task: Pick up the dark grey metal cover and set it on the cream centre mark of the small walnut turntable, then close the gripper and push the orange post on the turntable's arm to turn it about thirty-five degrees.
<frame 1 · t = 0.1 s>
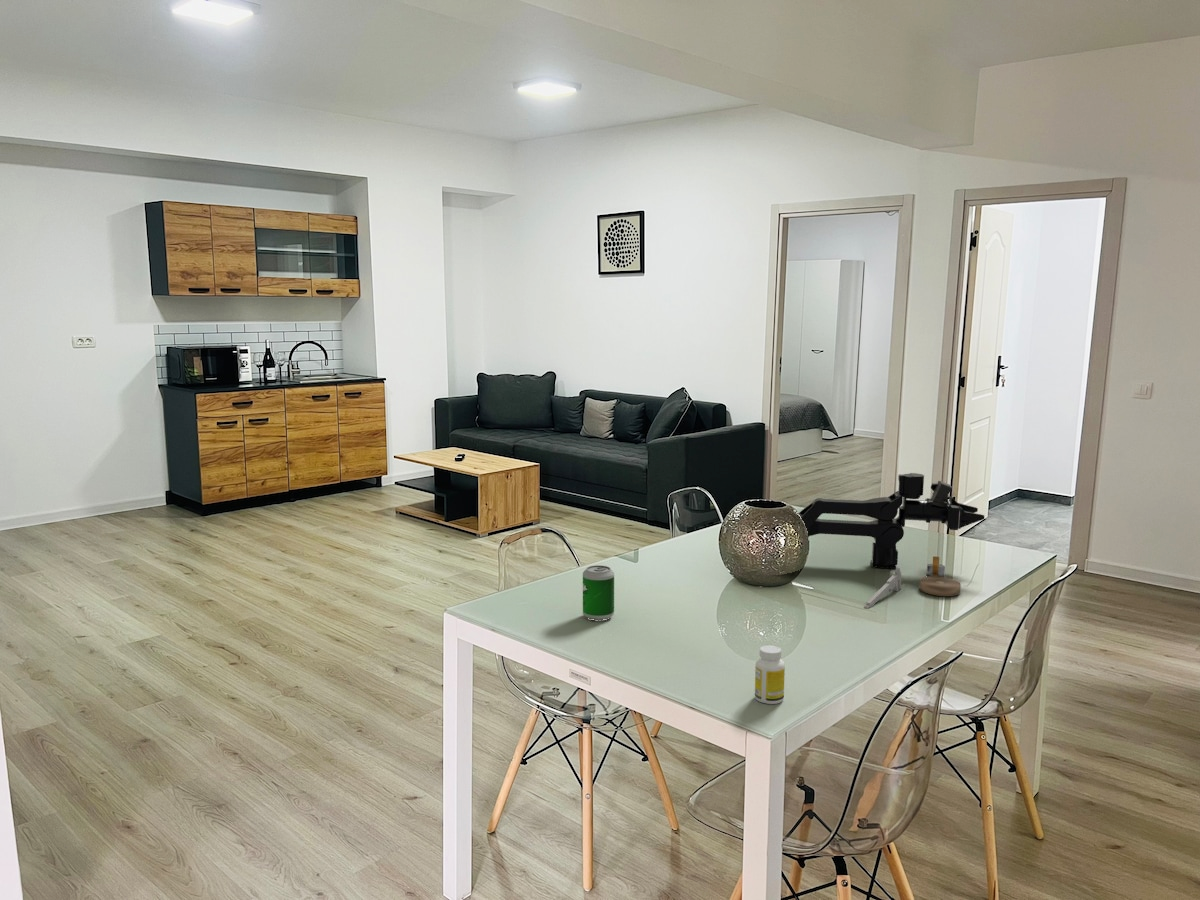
hand: (980, 513, 249), 17 cm above the table, tool horizontal, fingers open, 9 cm apart
soda can: (598, 618, 213), on the table
supplement bottle: (769, 699, 168), on the table
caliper: (882, 600, 228), on the table
turntable: (939, 575, 235), point 4 cm above the table, hinge at 0.0°
cover: (935, 577, 246), on the table
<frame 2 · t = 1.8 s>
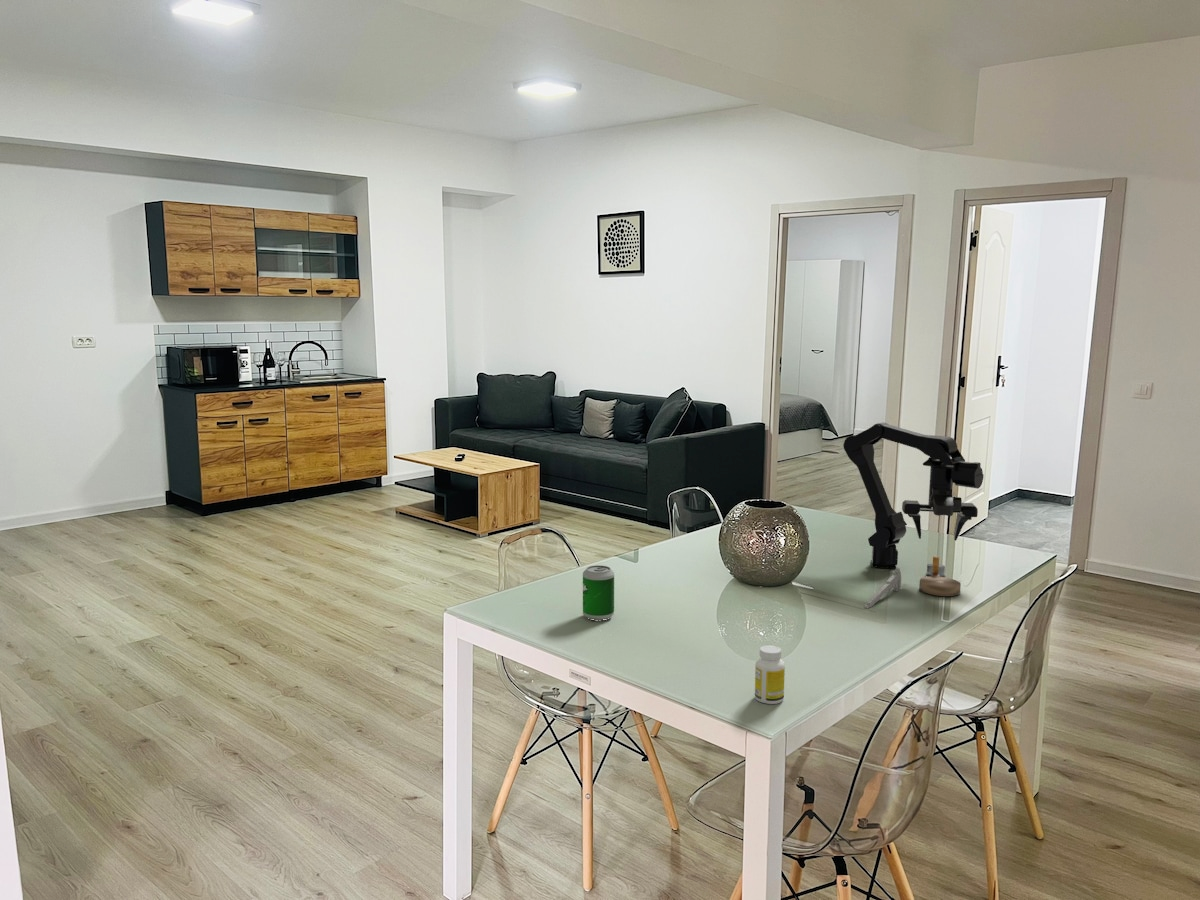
hand: (937, 539, 245), 11 cm above the table, tool pointing down, fingers open, 9 cm apart
nothing on the table moved.
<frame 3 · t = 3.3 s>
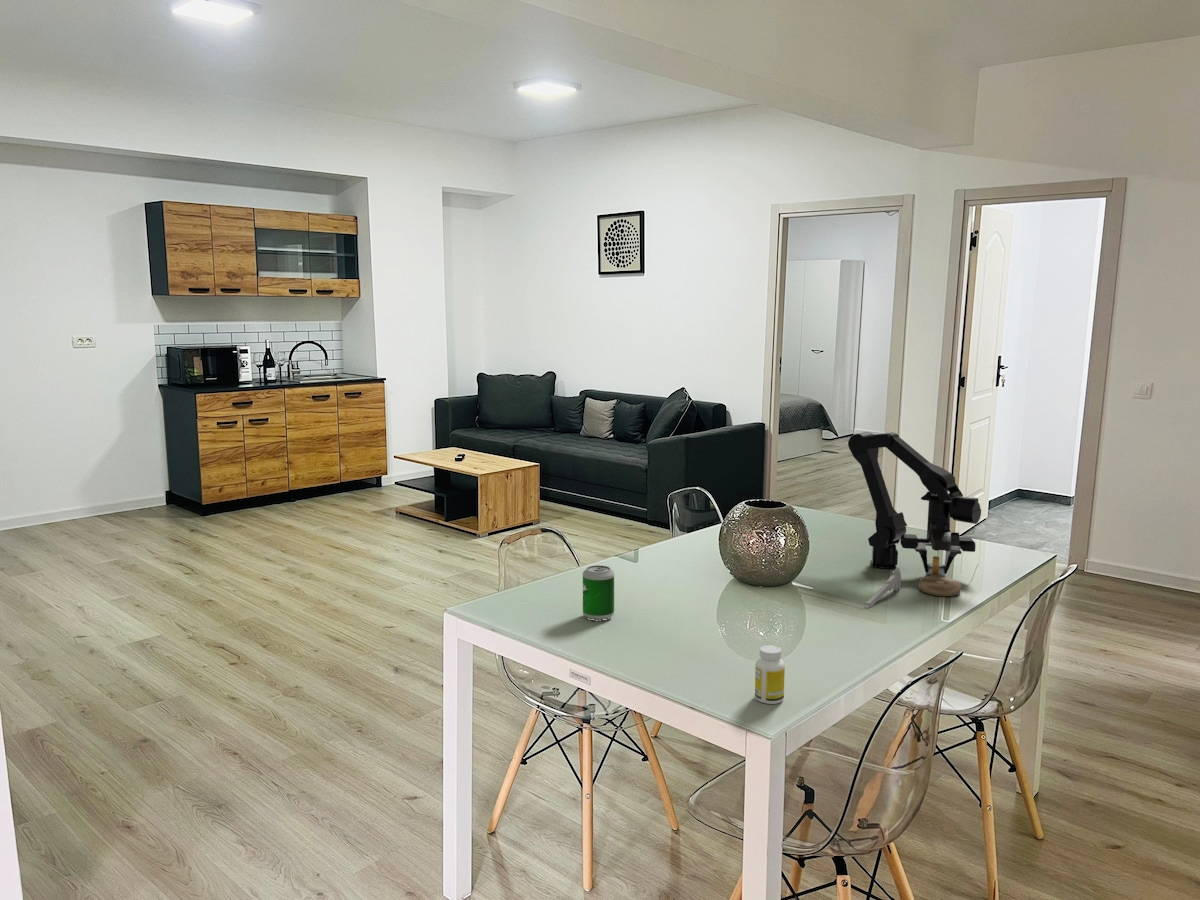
hand: (935, 573, 246), 1 cm above the table, tool pointing down, fingers closed on cover, 5 cm apart
cover: (935, 576, 246), on the table, touching gripper
everything else where it was.
when the fingers open (5 cm above the table, at t = 7.0 s): cover drops 1 cm, resting on turntable.
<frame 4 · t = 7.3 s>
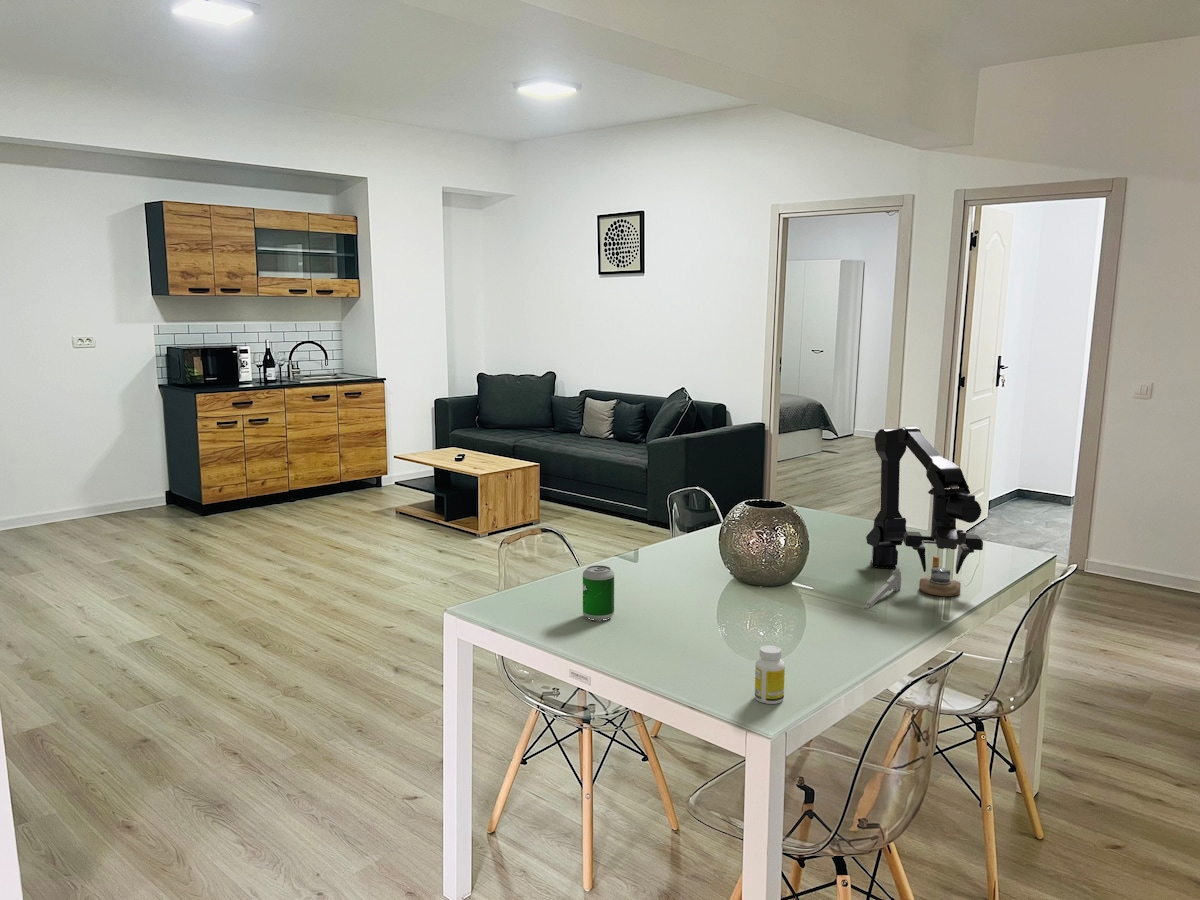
hand: (940, 572, 233), 5 cm above the table, tool pointing down, fingers open, 8 cm apart
turntable: (939, 575, 235), point 4 cm above the table, hinge at 0.0°, touching cover
cover: (940, 581, 233), point 3 cm above the table, touching turntable
everything else where it was.
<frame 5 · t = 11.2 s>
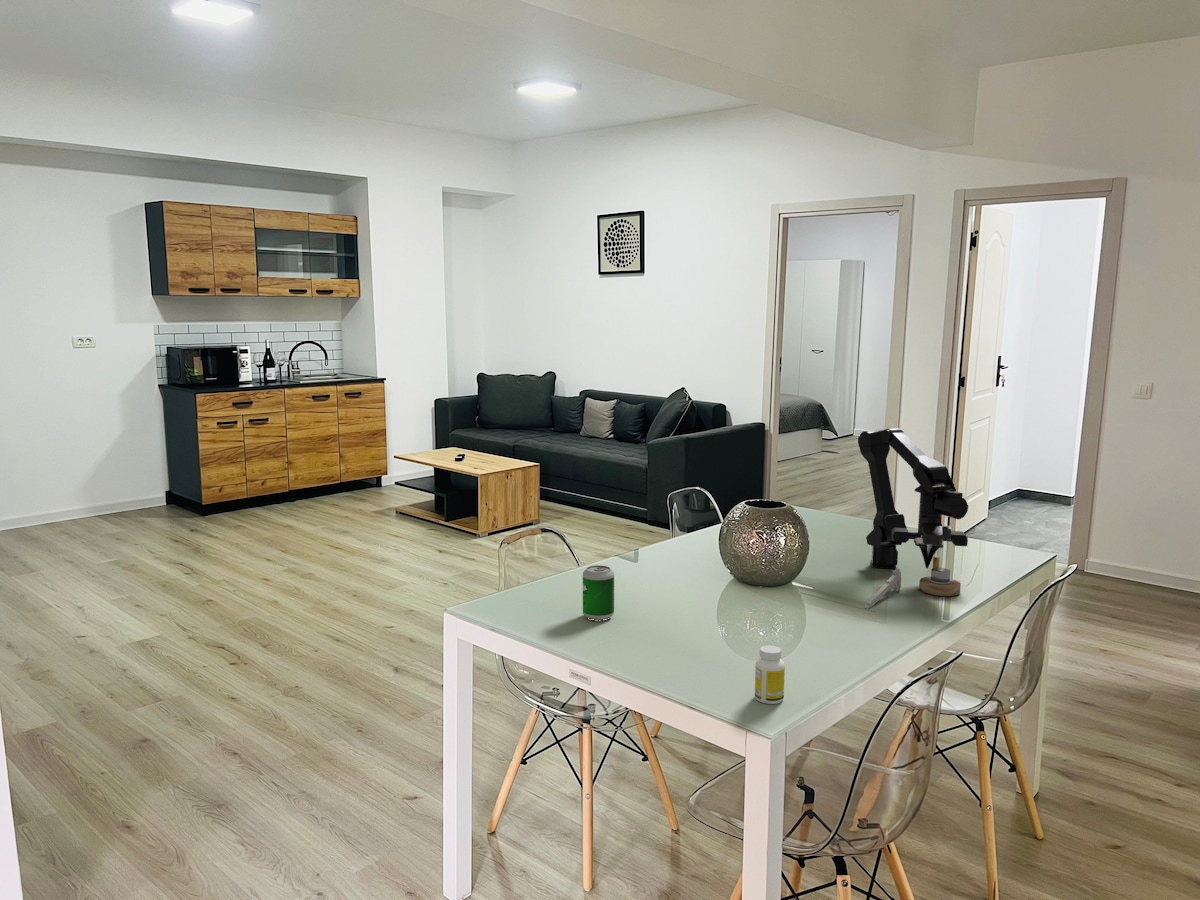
hand: (926, 567, 240), 4 cm above the table, tool pointing down, fingers closed
turntable: (939, 575, 235), point 4 cm above the table, hinge at -0.5°, touching cover, gripper
everything else where it was.
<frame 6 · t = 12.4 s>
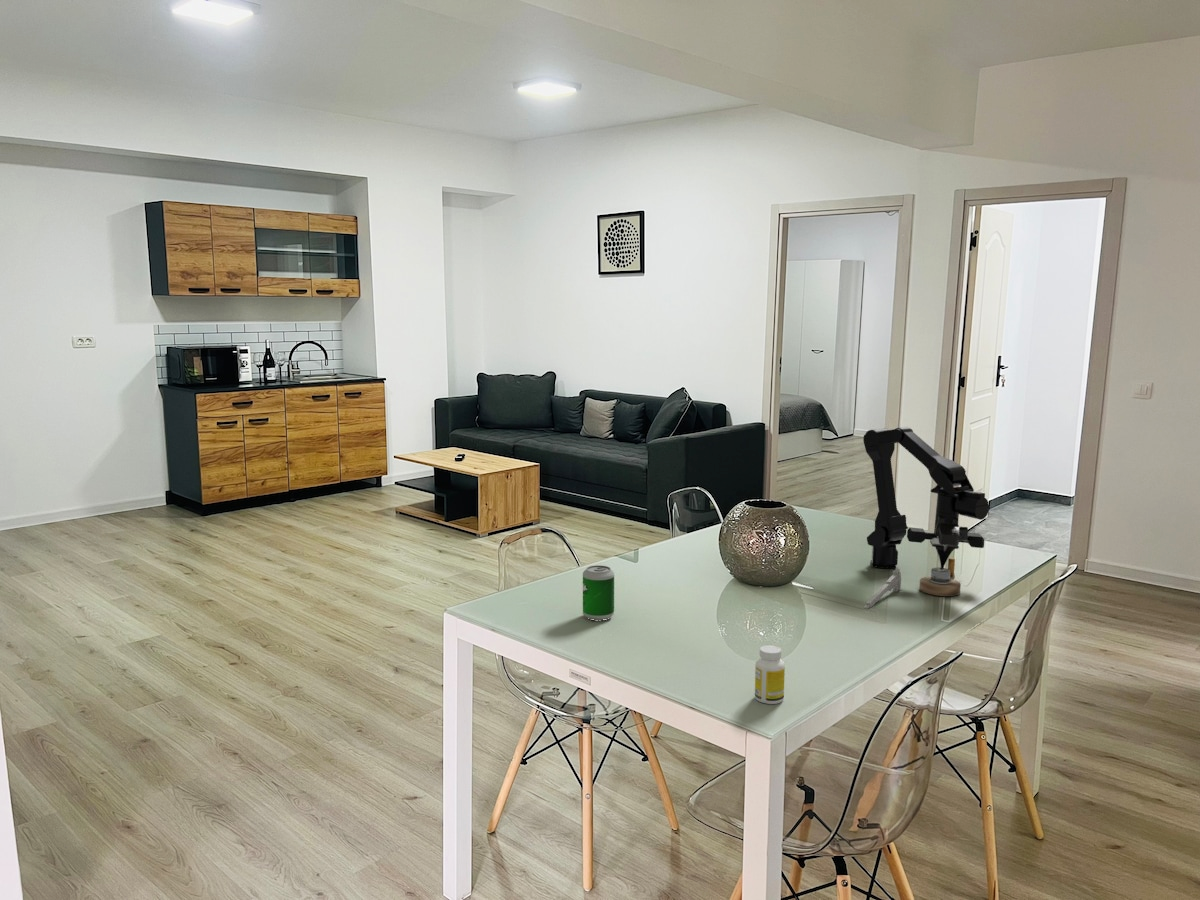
hand: (942, 568, 239), 4 cm above the table, tool pointing down, fingers closed
turntable: (942, 576, 234), point 4 cm above the table, hinge at -28.3°, touching cover, gripper
everything else where it was.
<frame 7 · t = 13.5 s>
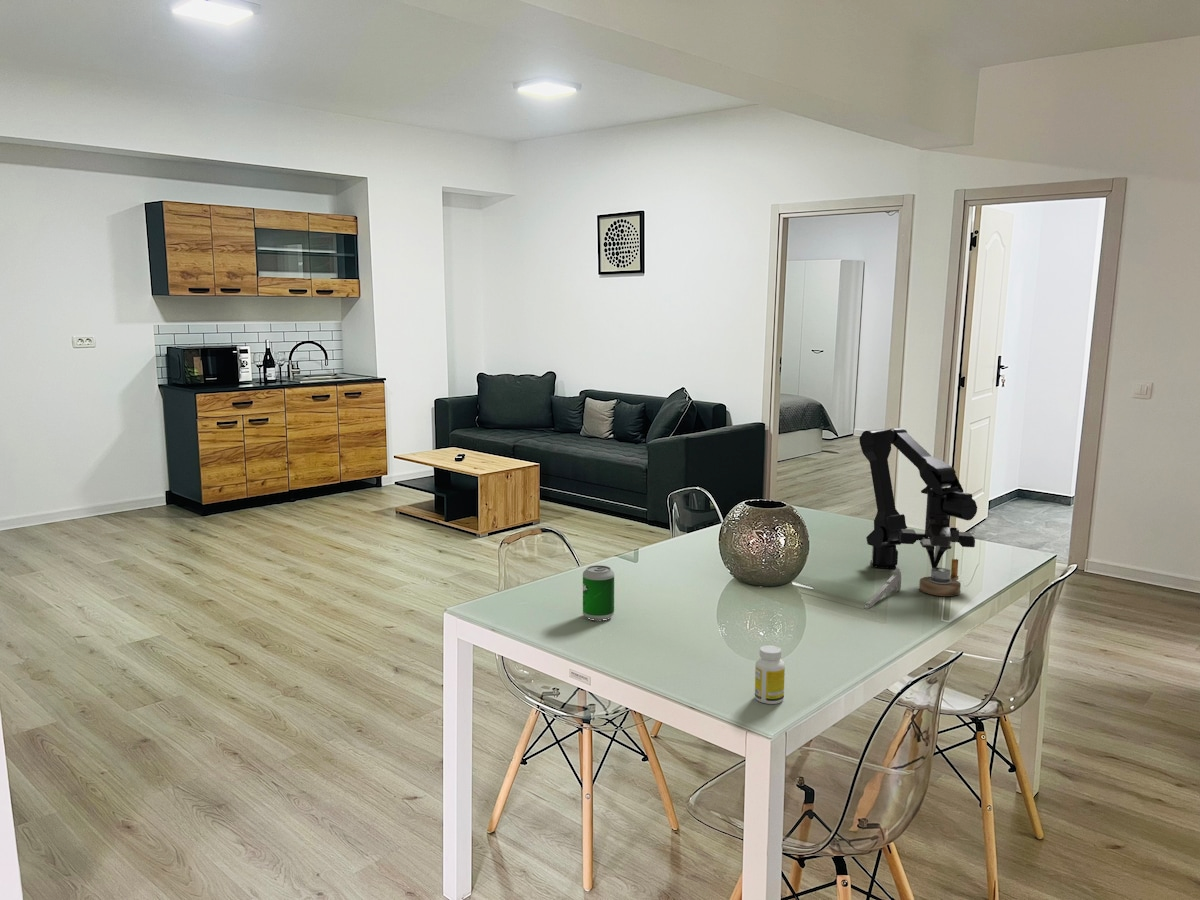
hand: (933, 569, 240), 4 cm above the table, tool pointing down, fingers closed
turntable: (943, 576, 234), point 4 cm above the table, hinge at -34.7°, touching cover
everything else where it was.
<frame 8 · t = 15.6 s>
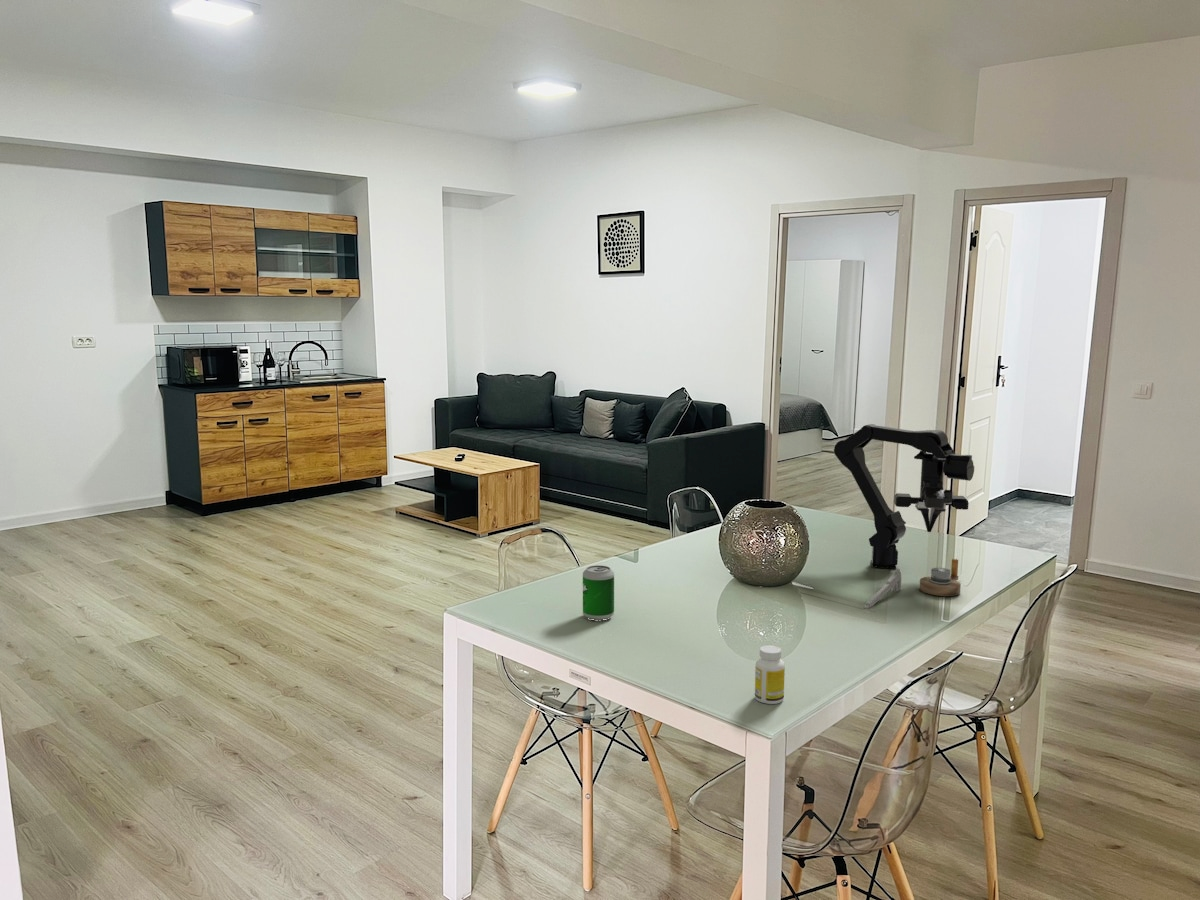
hand: (928, 531, 247), 12 cm above the table, tool pointing down, fingers closed
nothing on the table moved.
at the end: cover 0.0 cm from the turntable (horizontally); cover point 2.5 cm above the table; turntable at -35° (first picture: +0°) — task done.
